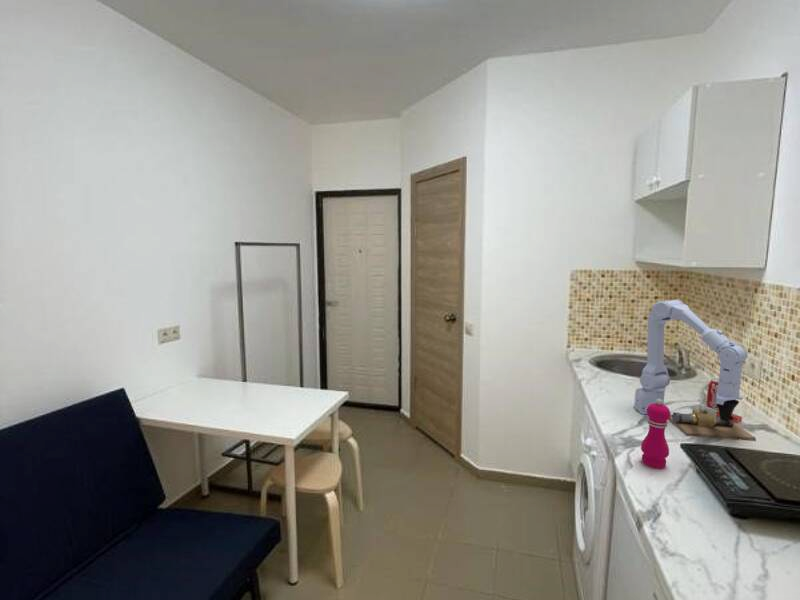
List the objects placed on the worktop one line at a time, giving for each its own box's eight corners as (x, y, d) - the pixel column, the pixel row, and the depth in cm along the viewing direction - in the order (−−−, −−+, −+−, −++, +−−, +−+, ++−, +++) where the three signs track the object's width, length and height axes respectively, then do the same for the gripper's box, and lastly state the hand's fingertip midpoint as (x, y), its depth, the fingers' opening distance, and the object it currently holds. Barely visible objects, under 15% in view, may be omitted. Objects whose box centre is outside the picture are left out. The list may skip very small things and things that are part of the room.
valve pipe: (677, 425, 154) (678, 412, 153) (671, 420, 159) (672, 407, 158) (734, 429, 151) (735, 416, 150) (726, 423, 156) (727, 410, 155)
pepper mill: (642, 454, 134) (648, 392, 131) (669, 462, 129) (676, 398, 127) (637, 464, 128) (643, 399, 126) (665, 472, 124) (672, 405, 121)
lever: (697, 410, 155) (698, 404, 154) (702, 408, 156) (702, 403, 156) (736, 423, 143) (737, 418, 143) (741, 422, 144) (742, 416, 144)
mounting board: (686, 435, 148) (687, 432, 147) (665, 416, 163) (666, 414, 163) (755, 440, 144) (755, 437, 144) (727, 421, 160) (727, 418, 160)
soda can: (731, 414, 166) (735, 384, 165) (711, 412, 168) (714, 382, 166) (722, 407, 173) (725, 378, 171) (702, 405, 174) (705, 377, 173)
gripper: (736, 388, 136) (731, 429, 138) (751, 380, 145) (746, 419, 147) (710, 382, 142) (705, 422, 144) (726, 375, 150) (722, 412, 152)
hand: (724, 420), depth 145 cm, fingers closed
